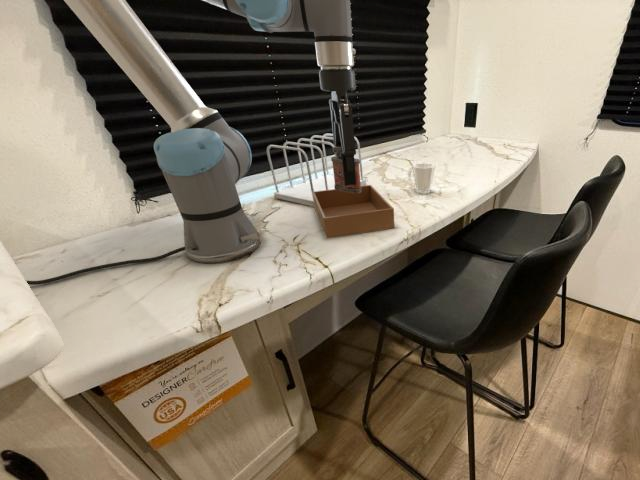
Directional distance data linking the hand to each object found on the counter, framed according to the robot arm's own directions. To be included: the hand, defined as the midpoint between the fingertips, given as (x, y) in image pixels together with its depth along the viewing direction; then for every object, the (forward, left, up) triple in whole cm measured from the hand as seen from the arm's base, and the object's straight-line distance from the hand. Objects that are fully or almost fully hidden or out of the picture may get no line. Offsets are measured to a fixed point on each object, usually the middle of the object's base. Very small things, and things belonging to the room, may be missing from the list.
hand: (347, 180), depth 82 cm
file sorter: (-4, +26, -10) cm, 28 cm away
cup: (+26, +15, -10) cm, 32 cm away
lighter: (0, 0, -3) cm, 3 cm away
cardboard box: (0, 0, -10) cm, 10 cm away
